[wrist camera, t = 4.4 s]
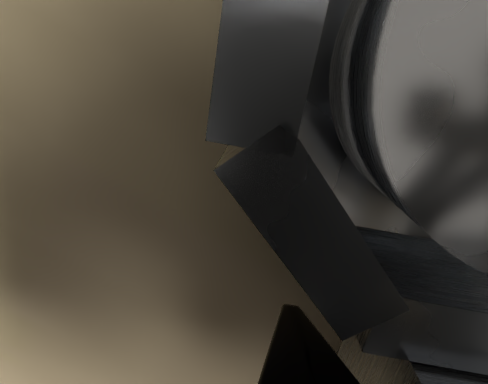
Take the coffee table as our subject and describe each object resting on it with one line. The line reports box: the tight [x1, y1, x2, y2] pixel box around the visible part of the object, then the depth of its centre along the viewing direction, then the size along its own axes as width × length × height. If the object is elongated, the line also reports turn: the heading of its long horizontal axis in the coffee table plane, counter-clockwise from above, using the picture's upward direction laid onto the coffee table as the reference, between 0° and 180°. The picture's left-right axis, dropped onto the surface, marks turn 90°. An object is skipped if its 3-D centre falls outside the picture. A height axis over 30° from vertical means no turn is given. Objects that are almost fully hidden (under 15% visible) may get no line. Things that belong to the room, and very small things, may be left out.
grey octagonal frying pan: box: [205, 0, 488, 384], centre depth 6 cm, size 18×10×3 cm, turn 170°
